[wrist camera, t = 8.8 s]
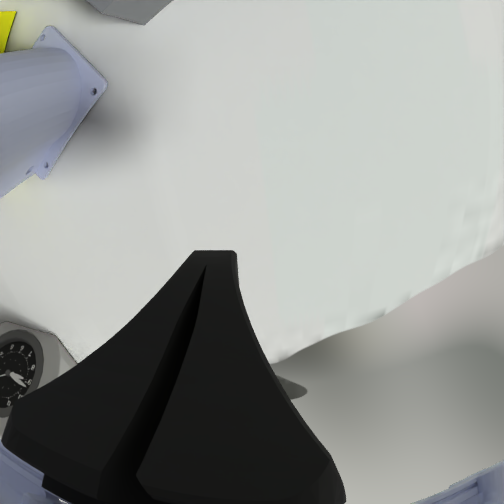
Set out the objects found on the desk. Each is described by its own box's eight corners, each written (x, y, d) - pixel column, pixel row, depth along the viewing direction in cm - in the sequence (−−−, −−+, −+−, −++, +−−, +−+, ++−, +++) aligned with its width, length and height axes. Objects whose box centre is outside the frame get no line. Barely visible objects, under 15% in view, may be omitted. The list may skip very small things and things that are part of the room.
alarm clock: (76, 340, 30) (28, 470, 14) (98, 370, 34) (63, 484, 18) (-6, 316, 30) (-51, 405, 14) (15, 344, 35) (-22, 427, 19)
